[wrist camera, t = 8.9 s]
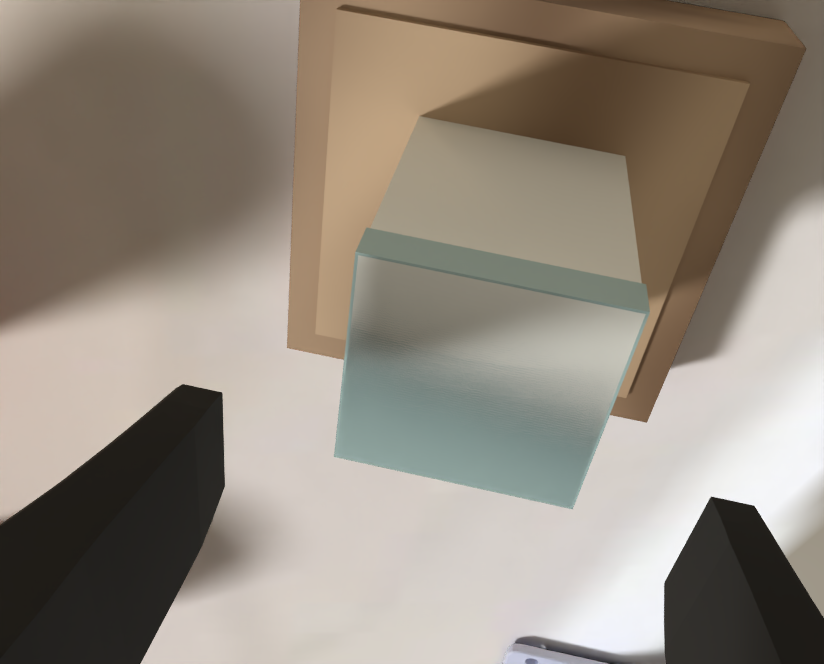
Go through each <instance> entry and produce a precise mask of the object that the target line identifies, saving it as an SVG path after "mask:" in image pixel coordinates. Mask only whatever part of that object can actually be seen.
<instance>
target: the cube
mask: <svg viewBox="0 0 824 664" xmlns="http://www.w3.org/2000/svg"><path fill="white" fill-rule="evenodd" d="M649 314H650V308H649V301H648V294H647V286H646V284H643V283H642V281H641V273H640V266H639V258H638V250H637V243H636V235H635V227H634V219H633V212H632V204H631V196H630V188H629V181H628V173H627V165H626V158H625V156H622V155H617V154H612V153H607V152H602V151H597V150H591V149H586V148H581V147H576V146H571V145H566V144H561V143H555V142H550V141H545V140H540V139H535V138H530V137H525V136H519V135H514V134H509V133H504V132H499V131H494V130H489V129H483V128H478V127H473V126H468V125H463V124H458V123H453V122H447V121H442V120H437V119H432V118H427V117H422V116H419V118H418V120H417V123H416V125H415V127H414V129H413V132H412V134H411V136H410V139H409V141H408V143H407V145H406V148H405V150H404V152H403V154H402V157H401V159H400V161H399V164H398V166H397V168H396V170H395V173H394V175H393V177H392V180H391V182H390V184H389V186H388V189H387V191H386V193H385V195H384V198H383V200H382V202H381V205H380V207H379V209H378V211H377V214H376V216H375V218H374V221H373V223H372V225H371V227H370V228H367V227H366V229H365V232H364V234H363V236H362V238H361V240H360V243H359V245H358V247H357V249H356V252H355V261H354V270H353V280H352V289H351V299H350V309H349V318H348V328H347V337H346V347H345V357H344V366H343V376H342V386H341V395H340V405H339V414H338V424H337V434H336V443H335V453H334V457H337V458H342V459H346V460H351V461H356V462H360V463H365V464H369V465H374V466H378V467H383V468H387V469H392V470H397V471H401V472H406V473H410V474H415V475H419V476H424V477H428V478H433V479H437V480H442V481H447V482H451V483H456V484H460V485H465V486H469V487H474V488H478V489H483V490H487V491H492V492H497V493H501V494H506V495H510V496H515V497H519V498H524V499H528V500H533V501H537V502H542V503H547V504H551V505H556V506H560V507H565V508H569V509H573V507H574V504H575V502H576V499H577V497H578V494H579V492H580V489H581V487H582V484H583V481H584V479H585V476H586V474H587V471H588V469H589V466H590V464H591V461H592V459H593V456H594V453H595V451H596V448H597V446H598V443H599V441H600V438H601V436H602V433H603V431H604V428H605V426H606V423H607V420H608V418H609V415H610V413H611V410H612V408H613V405H614V403H615V400H616V398H617V395H618V392H619V390H620V387H621V385H622V382H623V380H624V377H625V375H626V372H627V370H628V367H629V365H630V362H631V359H632V357H633V354H634V352H635V349H636V347H637V344H638V342H639V339H640V337H641V334H642V331H643V329H644V326H645V324H646V321H647V319H648V316H649Z"/></svg>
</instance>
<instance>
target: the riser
mask: <svg viewBox="0 0 824 664" xmlns="http://www.w3.org/2000/svg"><path fill="white" fill-rule="evenodd" d="M805 51H806V47H805V46H804V45H803V44H802V42H801V41H800V40H799V39H798V37H797V36H796V35H795V34H794V33H793V31H792V30H791V29H790V28H789V26H788V25H787V24H786V23H785V21H781V20H776V19H770V18H764V17H759V16H753V15H747V14H741V13H736V12H730V11H724V10H719V9H713V8H707V7H702V6H696V5H690V4H685V3H679V2H673V1H668V0H300V18H299V44H298V71H297V97H296V124H295V151H294V177H293V204H292V230H291V257H290V284H289V310H288V337H287V348H290V349H295V350H300V351H305V352H309V353H314V354H319V355H324V356H329V357H333V358H338V359H343V360H344V357H345V347H346V337H347V328H348V318H349V309H350V299H351V289H352V280H353V270H354V261H355V252H356V249H357V247H358V245H359V243H360V240H361V238H362V236H363V234H364V232H365V229H366V227H367V228H370V227H371V225H372V223H373V221H374V218H375V216H376V214H377V211H378V209H379V207H380V205H381V202H382V200H383V198H384V195H385V193H386V191H387V189H388V186H389V184H390V182H391V180H392V177H393V175H394V173H395V170H396V168H397V166H398V164H399V161H400V159H401V157H402V154H403V152H404V150H405V148H406V145H407V143H408V141H409V139H410V136H411V134H412V132H413V129H414V127H415V125H416V123H417V120H418V118H419V116H422V117H427V118H432V119H437V120H442V121H447V122H453V123H458V124H463V125H468V126H473V127H478V128H483V129H489V130H494V131H499V132H504V133H509V134H514V135H519V136H525V137H530V138H535V139H540V140H545V141H550V142H555V143H561V144H566V145H571V146H576V147H581V148H586V149H591V150H597V151H602V152H607V153H612V154H617V155H622V156H625V158H626V165H627V173H628V181H629V188H630V196H631V204H632V212H633V219H634V227H635V235H636V243H637V250H638V258H639V266H640V273H641V281H642V283H643V284H646V286H647V294H648V301H649V308H650V314H649V316H648V319H647V321H646V324H645V326H644V329H643V331H642V334H641V337H640V339H639V342H638V344H637V347H636V349H635V352H634V354H633V357H632V359H631V362H630V365H629V367H628V370H627V372H626V375H625V377H624V380H623V382H622V385H621V387H620V390H619V392H618V395H617V398H616V400H615V403H614V405H613V408H612V410H611V413H610V415H613V416H618V417H623V418H627V419H632V420H637V421H642V422H647V421H648V419H649V416H650V414H651V411H652V409H653V407H654V404H655V402H656V400H657V397H658V395H659V393H660V390H661V388H662V386H663V383H664V381H665V379H666V376H667V374H668V372H669V369H670V367H671V365H672V362H673V360H674V358H675V355H676V353H677V351H678V348H679V346H680V344H681V341H682V339H683V336H684V334H685V332H686V329H687V327H688V325H689V322H690V320H691V318H692V315H693V313H694V311H695V308H696V306H697V304H698V301H699V299H700V297H701V294H702V292H703V290H704V287H705V285H706V283H707V280H708V278H709V276H710V273H711V271H712V269H713V266H714V264H715V261H716V259H717V257H718V254H719V252H720V250H721V247H722V245H723V243H724V240H725V238H726V236H727V233H728V231H729V229H730V226H731V224H732V222H733V219H734V217H735V215H736V212H737V210H738V208H739V205H740V203H741V201H742V198H743V196H744V194H745V191H746V189H747V186H748V184H749V182H750V179H751V177H752V175H753V172H754V170H755V168H756V165H757V163H758V161H759V158H760V156H761V154H762V151H763V149H764V147H765V144H766V142H767V140H768V137H769V135H770V133H771V130H772V128H773V126H774V123H775V121H776V119H777V116H778V114H779V111H780V109H781V107H782V104H783V102H784V100H785V97H786V95H787V93H788V90H789V88H790V86H791V83H792V81H793V79H794V76H795V74H796V72H797V69H798V67H799V65H800V62H801V60H802V58H803V55H804V53H805Z"/></svg>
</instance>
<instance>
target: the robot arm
mask: <svg viewBox="0 0 824 664" xmlns="http://www.w3.org/2000/svg"><path fill="white" fill-rule="evenodd" d="M224 487H225V475H224V438H223V400H222V392H217V391H212V390H208V389H203V388H198V387H194V386H189V385H184V384H182V385H181V386H179V387H177V388H176V389H175V390H173V391H172V392H171V393H170V394H169V395H167V396H166V397H165V398H164V399H163V400H162V401H160V402H159V403H158V404H157V405H156V406H154V407H153V408H152V409H151V410H150V411H149V412H147V413H146V414H145V415H144V416H143V417H141V418H140V419H139V420H138V421H137V422H135V423H134V424H133V425H132V426H131V427H129V428H128V429H127V430H126V431H125V432H123V433H122V434H121V435H120V436H118V437H117V438H116V439H115V440H114V441H112V442H111V443H110V444H109V445H107V446H106V447H105V448H104V449H102V450H101V451H100V452H98V453H97V454H96V455H95V456H93V457H92V458H91V459H89V460H88V461H87V462H86V463H84V464H83V465H82V466H80V467H79V468H78V469H77V470H75V471H74V472H73V473H71V474H70V475H69V476H68V477H66V478H65V479H64V480H62V481H61V482H60V483H58V484H57V485H56V486H54V487H53V488H51V489H50V490H49V491H47V492H46V493H44V494H43V495H42V496H40V497H39V498H37V499H36V500H35V501H33V502H32V503H30V504H29V505H28V506H26V507H25V508H23V509H22V510H20V511H19V512H18V513H16V514H15V515H13V516H12V517H11V518H9V519H8V520H6V521H5V522H3V523H2V524H0V664H140V663H141V661H142V660H143V658H144V656H145V654H146V652H147V650H148V648H149V646H150V644H151V643H152V641H153V639H154V637H155V635H156V633H157V631H158V629H159V627H160V626H161V624H162V622H163V620H164V618H165V616H166V614H167V612H168V610H169V609H170V607H171V605H172V603H173V601H174V599H175V597H176V595H177V593H178V591H179V590H180V588H181V586H182V584H183V582H184V580H185V578H186V576H187V574H188V572H189V570H190V568H191V567H192V565H193V563H194V561H195V559H196V557H197V555H198V553H199V551H200V549H201V547H202V544H203V542H204V539H205V537H206V534H207V532H208V529H209V527H210V524H211V522H212V519H213V516H214V514H215V511H216V508H217V506H218V503H219V500H220V498H221V495H222V492H223V490H224ZM664 636H665V658H666V664H824V618H823V616H822V615H821V613H820V611H819V610H818V608H817V607H816V605H815V604H814V602H813V601H812V599H811V598H810V596H809V594H808V592H807V591H806V589H805V588H804V586H803V584H802V583H801V581H800V580H799V578H798V576H797V575H796V573H795V571H794V570H793V568H792V566H791V565H790V563H789V562H788V560H787V558H786V557H785V555H784V553H783V552H782V550H781V548H780V547H779V545H778V544H777V542H776V540H775V539H774V537H773V535H772V534H771V532H770V531H769V529H768V527H767V526H766V524H765V522H764V521H763V519H762V518H761V516H760V514H759V513H758V511H757V509H756V508H755V506H753V505H748V504H743V503H739V502H734V501H729V500H725V499H720V498H715V497H711V498H710V499H709V501H708V503H707V505H706V507H705V509H704V511H703V512H702V514H701V516H700V518H699V520H698V522H697V524H696V525H695V527H694V529H693V531H692V533H691V535H690V536H689V538H688V540H687V542H686V544H685V546H684V548H683V549H682V551H681V553H680V555H679V557H678V559H677V561H676V562H675V564H674V566H673V568H672V570H671V572H670V573H669V575H668V577H667V579H666V581H665V583H664ZM502 664H608V663H604V662H599V661H595V660H590V659H586V658H582V657H577V656H573V655H568V654H564V653H559V652H555V651H551V650H546V649H542V648H537V647H533V646H528V645H524V644H513V645H511V646H509V647H508V648H507V651H506V654H505V657H504V659H503V662H502Z"/></svg>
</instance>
